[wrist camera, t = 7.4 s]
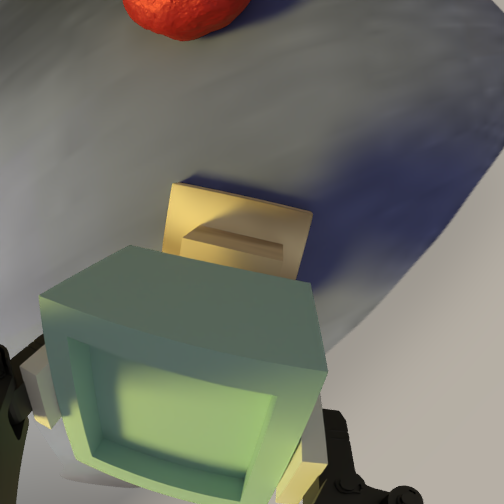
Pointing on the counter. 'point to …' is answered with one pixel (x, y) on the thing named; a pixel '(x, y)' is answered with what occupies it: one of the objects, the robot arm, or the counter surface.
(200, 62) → the counter surface
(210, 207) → the plate
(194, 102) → the counter surface
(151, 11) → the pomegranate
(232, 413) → the cup block
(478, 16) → the counter surface
